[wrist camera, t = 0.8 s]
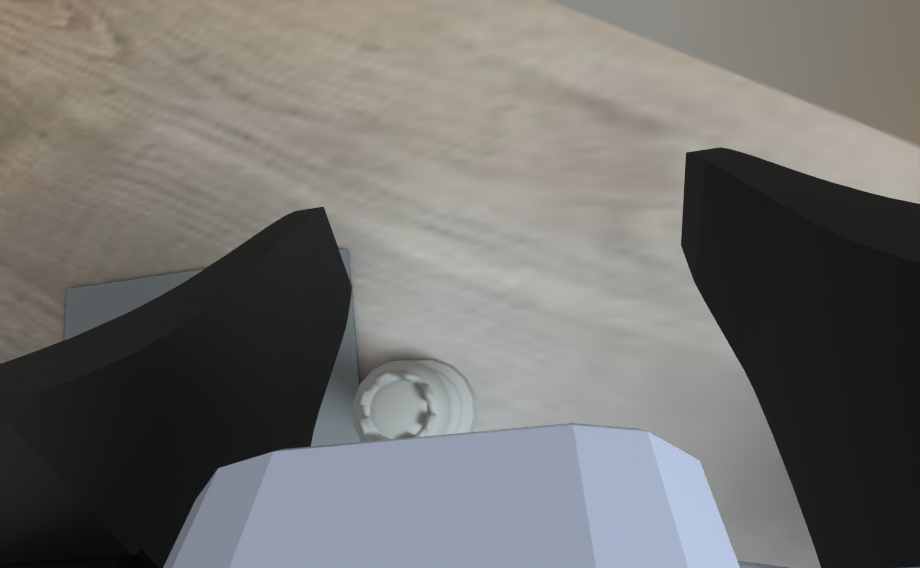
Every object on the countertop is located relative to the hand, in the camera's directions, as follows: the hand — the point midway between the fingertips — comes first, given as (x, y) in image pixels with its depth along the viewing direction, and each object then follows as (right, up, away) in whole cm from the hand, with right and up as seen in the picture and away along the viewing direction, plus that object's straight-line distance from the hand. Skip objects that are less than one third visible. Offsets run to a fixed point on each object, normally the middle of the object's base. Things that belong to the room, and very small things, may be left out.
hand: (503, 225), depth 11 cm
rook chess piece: (-2, -7, +14) cm, 16 cm away
